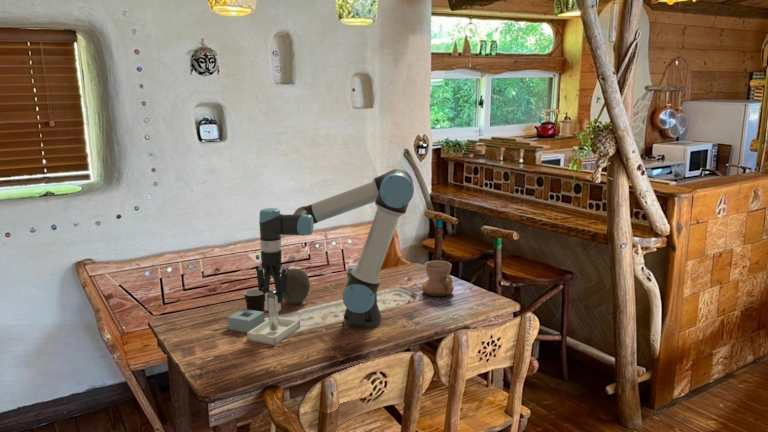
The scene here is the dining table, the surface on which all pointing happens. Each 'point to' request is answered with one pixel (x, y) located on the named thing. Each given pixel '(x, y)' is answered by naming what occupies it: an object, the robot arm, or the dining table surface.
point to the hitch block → (245, 320)
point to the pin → (272, 311)
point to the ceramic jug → (438, 278)
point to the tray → (273, 337)
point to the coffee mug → (254, 300)
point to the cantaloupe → (296, 286)
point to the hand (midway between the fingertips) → (273, 309)
